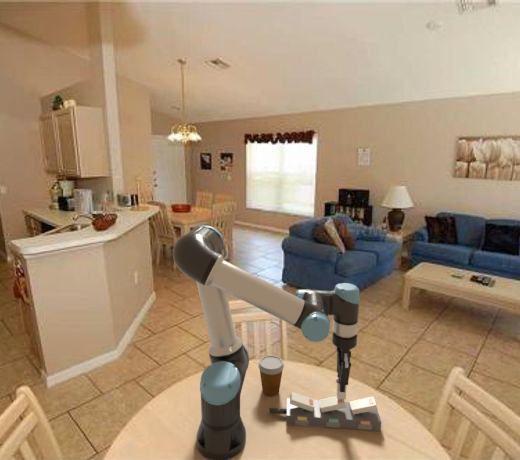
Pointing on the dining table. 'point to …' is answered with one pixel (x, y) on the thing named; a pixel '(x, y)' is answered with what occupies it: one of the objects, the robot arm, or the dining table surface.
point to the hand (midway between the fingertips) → (341, 397)
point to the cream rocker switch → (363, 405)
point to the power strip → (330, 417)
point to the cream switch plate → (331, 404)
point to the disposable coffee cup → (271, 374)
